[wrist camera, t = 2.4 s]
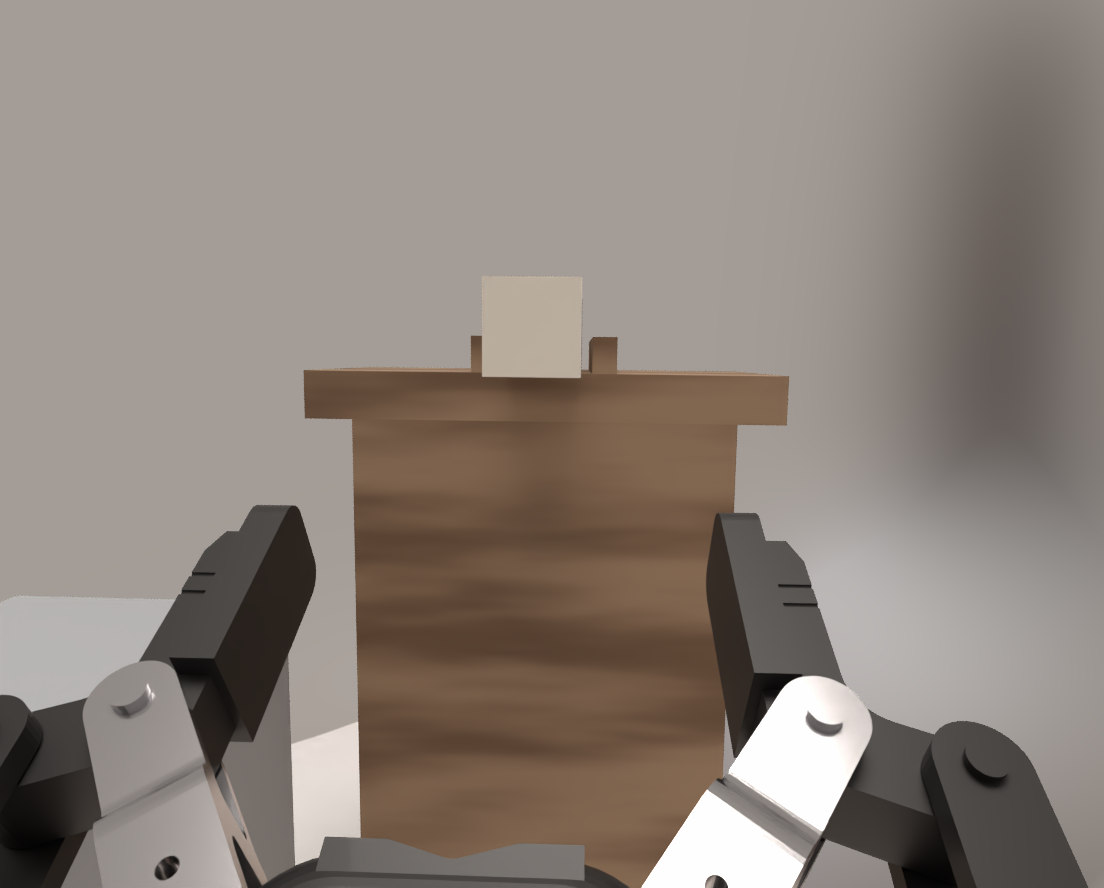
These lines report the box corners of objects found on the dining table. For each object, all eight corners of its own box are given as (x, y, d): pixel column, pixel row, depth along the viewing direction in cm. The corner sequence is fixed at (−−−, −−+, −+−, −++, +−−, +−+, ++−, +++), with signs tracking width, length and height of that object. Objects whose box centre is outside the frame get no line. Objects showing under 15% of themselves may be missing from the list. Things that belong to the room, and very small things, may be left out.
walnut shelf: (753, 1076, 33) (791, 339, 29) (323, 1056, 34) (302, 333, 30) (713, 911, 43) (737, 343, 39) (380, 899, 44) (370, 339, 40)
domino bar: (582, 379, 22) (584, 275, 22) (480, 378, 22) (480, 274, 22) (580, 369, 40) (581, 312, 40) (524, 369, 40) (524, 311, 40)
